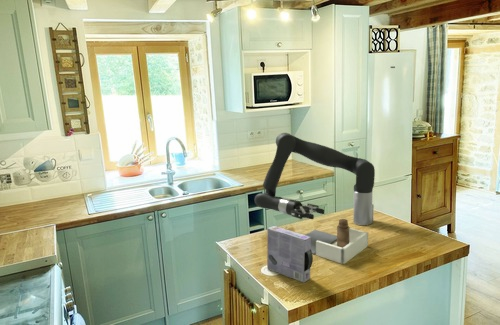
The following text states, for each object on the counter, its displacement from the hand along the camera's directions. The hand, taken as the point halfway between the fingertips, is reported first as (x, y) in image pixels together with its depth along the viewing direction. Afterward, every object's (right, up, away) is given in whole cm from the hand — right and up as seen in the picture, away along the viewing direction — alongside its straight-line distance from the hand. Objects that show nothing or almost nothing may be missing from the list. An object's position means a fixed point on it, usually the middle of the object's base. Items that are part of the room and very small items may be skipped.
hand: (318, 214), depth 168 cm
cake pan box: (-15, -21, -21) cm, 33 cm away
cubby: (+9, -16, -4) cm, 19 cm away
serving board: (-1, -14, +5) cm, 15 cm away
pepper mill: (+10, -15, -5) cm, 19 cm away
